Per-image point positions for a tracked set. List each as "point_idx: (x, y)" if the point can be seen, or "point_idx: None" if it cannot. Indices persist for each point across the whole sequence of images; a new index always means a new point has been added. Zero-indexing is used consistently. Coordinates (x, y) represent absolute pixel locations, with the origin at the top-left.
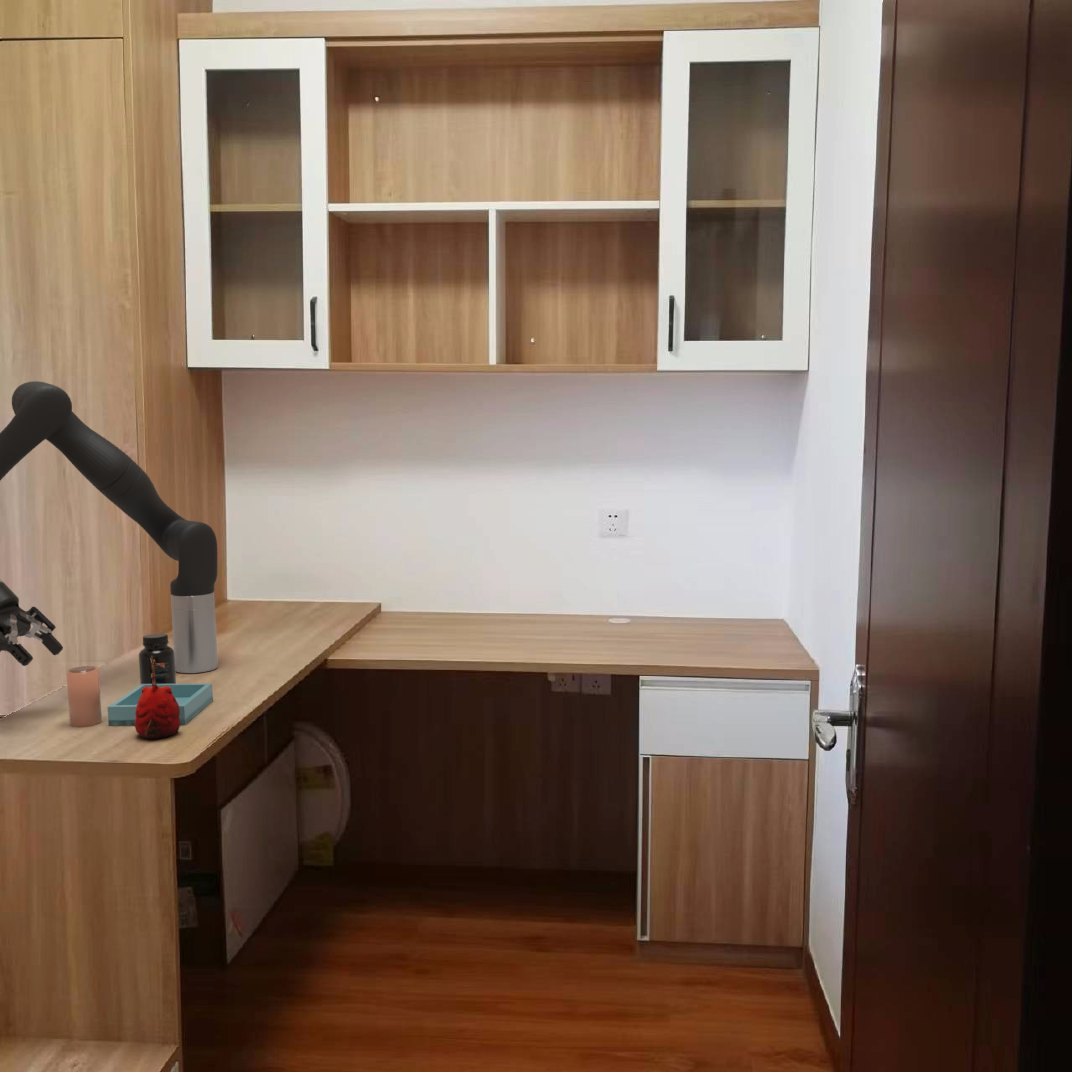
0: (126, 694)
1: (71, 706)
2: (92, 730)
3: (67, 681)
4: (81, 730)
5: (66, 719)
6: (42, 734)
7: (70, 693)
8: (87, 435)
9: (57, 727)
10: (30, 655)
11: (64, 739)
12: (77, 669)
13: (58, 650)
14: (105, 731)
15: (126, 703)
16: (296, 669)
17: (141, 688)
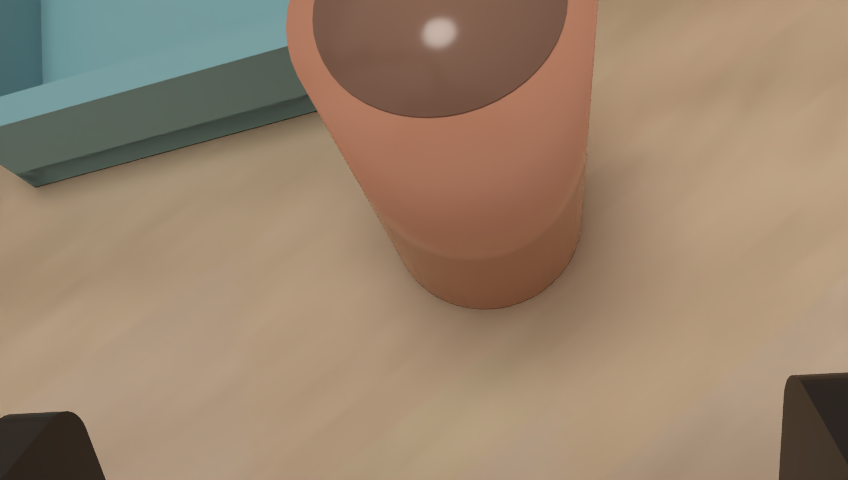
0: (212, 63)
1: (580, 189)
2: (616, 81)
3: (566, 130)
4: (634, 140)
5: (447, 392)
6: (784, 317)
7: (583, 143)
8: None
9: (621, 326)
10: (833, 395)
11: (821, 114)
12: (451, 42)
13: (85, 457)
14: (613, 6)
15: None
16: None
17: (46, 89)
